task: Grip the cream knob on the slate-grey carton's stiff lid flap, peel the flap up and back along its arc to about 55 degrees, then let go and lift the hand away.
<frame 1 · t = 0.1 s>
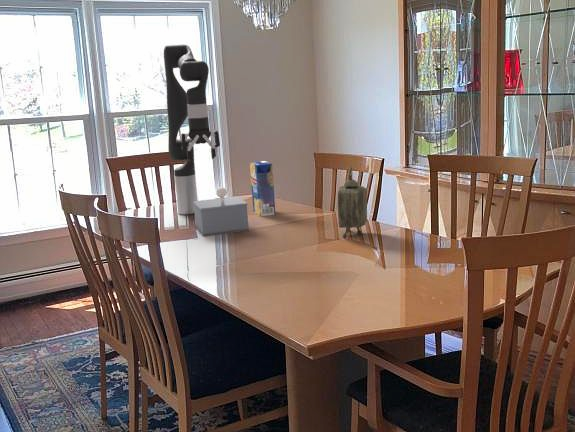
hand: (201, 159, 245), 29 cm above the table, fingers open, 8 cm apart
beverage box: (264, 213, 283), on the table
lid flap: (215, 200, 264), point 10 cm above the table, hinge at 0.0°
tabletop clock: (353, 235, 238), on the table
carton: (221, 228, 259), on the table
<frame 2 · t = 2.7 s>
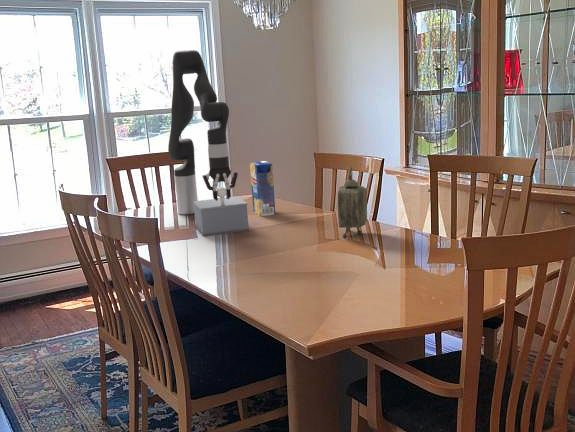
hand: (222, 199, 251), 13 cm above the table, fingers closed on lid flap, 4 cm apart
lid flap: (215, 200, 264), point 10 cm above the table, hinge at 0.0°, touching gripper
everything else where it was.
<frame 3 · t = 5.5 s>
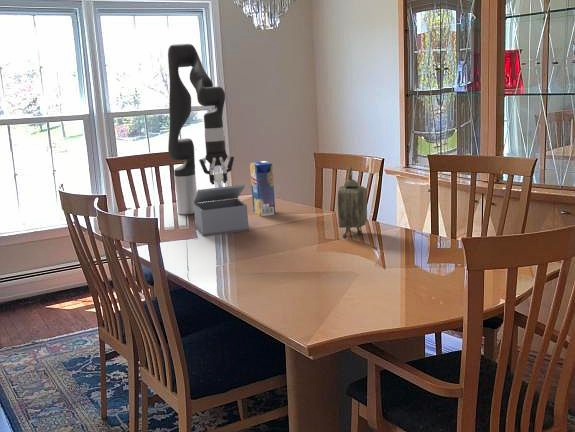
hand: (218, 183, 253), 19 cm above the table, fingers closed on lid flap, 4 cm apart
lid flap: (215, 200, 264), point 10 cm above the table, hinge at 26.2°, touching gripper
everything else where it was.
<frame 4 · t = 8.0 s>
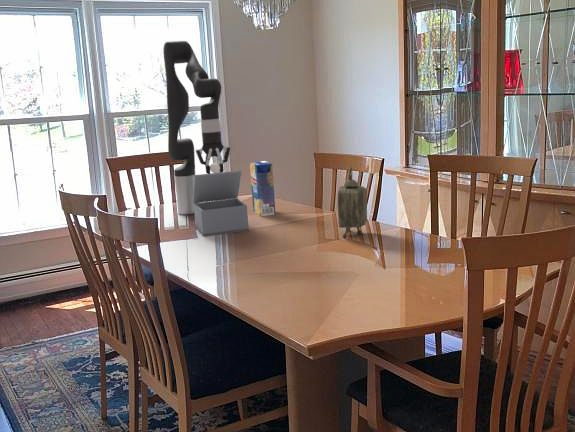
hand: (215, 173, 258), 22 cm above the table, fingers open, 4 cm apart
lid flap: (215, 200, 264), point 10 cm above the table, hinge at 50.6°
everything else where it was.
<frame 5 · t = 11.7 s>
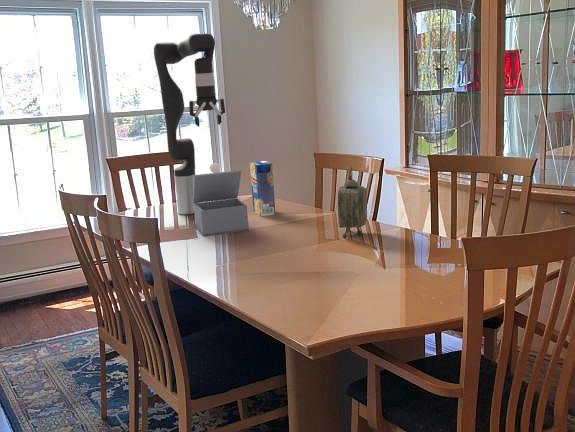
hand: (208, 125, 264), 40 cm above the table, fingers open, 8 cm apart
nothing on the table moved.
at the end: lid flap at +51° (first picture: +0°); the gripper is holding nothing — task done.
